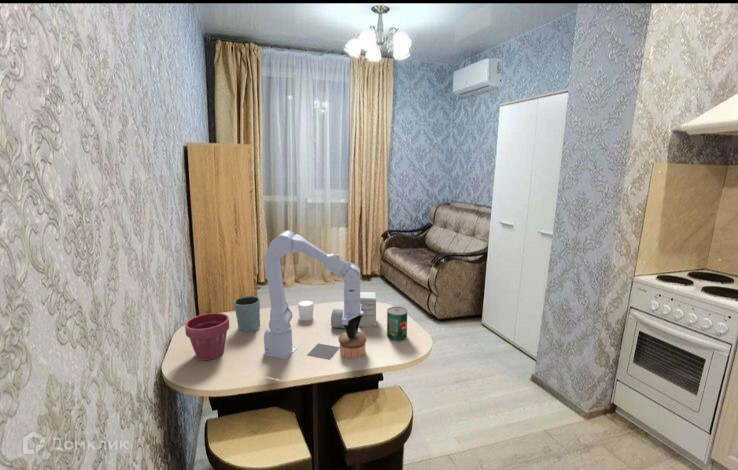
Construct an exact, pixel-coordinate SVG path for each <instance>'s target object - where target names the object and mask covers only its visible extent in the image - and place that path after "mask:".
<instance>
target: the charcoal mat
mask: <svg viewBox="0 0 738 470" xmlns="http://www.w3.org/2000/svg"><path fill="white" fill-rule="evenodd" d="M339 350H340V346H335V345H329V344H324V343H319V342H318V343H317V344H315V346H314V347H313V348H312V349H311V350H310V351H309V352H308V353H307V355H306V356H308V357H314V358H319V359H323V360H329V361H330V360H331V359H332V358H333V357H334V356H335V354H336V353H337V352H338V351H339Z"/></svg>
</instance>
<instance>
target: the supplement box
mask: <svg viewBox="0 0 738 470" xmlns="http://www.w3.org/2000/svg"><path fill="white" fill-rule="evenodd" d="M360 304H362V309H361V311H363V312H364V314H363V316H362V318H361V320H360V323H359V327H371V328H372V327H376V326H377V292H375V291H369V292H368V291H360Z"/></svg>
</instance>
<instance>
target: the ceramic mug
mask: <svg viewBox="0 0 738 470" xmlns="http://www.w3.org/2000/svg"><path fill="white" fill-rule="evenodd" d="M343 312H344V309H340V308H333V309H332V311H331V315H330V327H331V328H335V329H345V327H344V325H342V322H341V319H342V318H343Z"/></svg>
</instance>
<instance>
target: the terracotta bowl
mask: <svg viewBox="0 0 738 470" xmlns="http://www.w3.org/2000/svg"><path fill="white" fill-rule="evenodd" d="M339 347H340V348H339V354H340V356H341V357H343V358H345V359H359V358H361V357H363V356H365V354H366V342H365V343H364V344H362V345H360V346H354V347H350V346H345V345H342V344H341V343H339Z"/></svg>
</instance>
